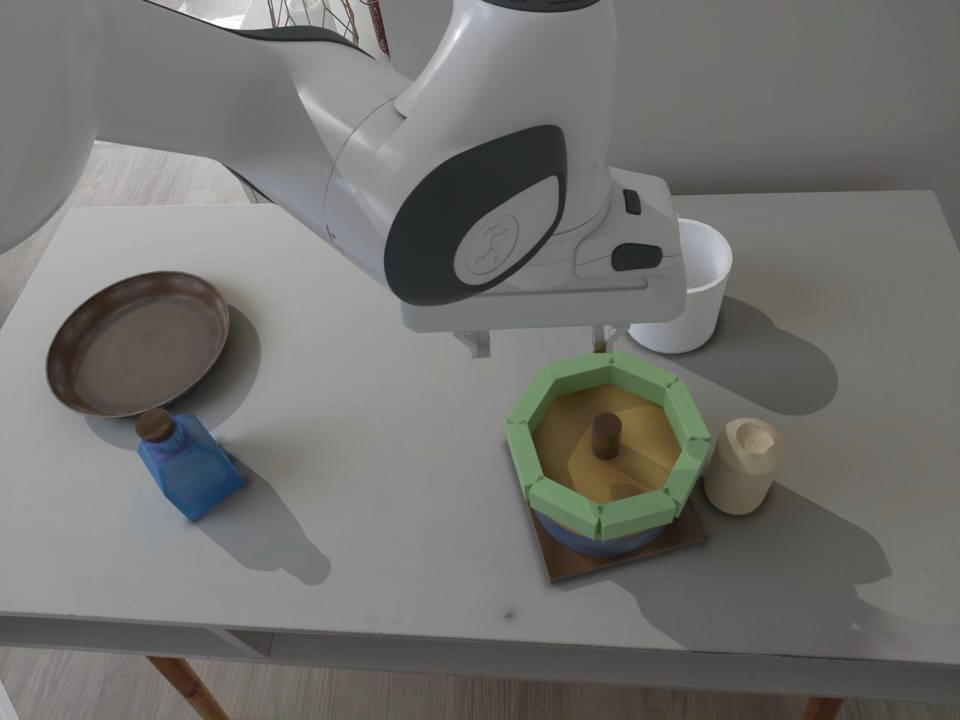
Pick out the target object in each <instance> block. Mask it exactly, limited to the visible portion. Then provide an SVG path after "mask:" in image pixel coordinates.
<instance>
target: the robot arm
mask: <svg viewBox="0 0 960 720" xmlns="http://www.w3.org/2000/svg"><path fill="white" fill-rule="evenodd" d="M615 11H616V10H615V7H614V3H613V0H453V1H452V14H451V17H450V20H449V23H448V25H447V28H446V31H445V33H444V35H443V37H442V38H441V41H440V43H439V45H438V47H437V49H436V50H435V52H434V53H433V55H432V57H431V58H430V60H429V62H428V63H427V64H426V66H425V68H424V69H423V71H422V72H421V73H420V74H419V76H418V77H417V78H416V80H415V81H414V80H412V79H410V78H409V77H407V76H405V75H403V74H401V73H399V72H398V71H396V70H394V69H392V68H391V67H388V66H387V65H386V64H384V63H382V62H380V61H379V60H377V59H376V58H375V57H374V56H372V55H371V54H369V53H368V52H366V51H365V50H364V49H363V48H361V47H360V46H358V45H356V44H355V43H354V42H353V41H351V40H349V38H346V37H345V36H344V35H342V34H340V33H339V32H336V31H334V30H331V29H329V28H325V27H322V26H317V25H308V24H307V25H306V24H305V25H303V24H302V25H301V24H300V25H287V26H286V25H285V26H277V27H269V28H259V29H258V28H257V29H256V28H255V29H239V28H237V29H236V28H229V27H224V26H220V25H218V24H215V23H213V22H209V21H206V20H203V19H201V18H198V17H195V16H192V15H190V14H187V13H184V12H181V11H179V10H176V9H173V8H171V7H168V6H166V5H162V4H159V3H156V2H154V1H152V0H0V257H1V256H2V255H4V254H6V253H7V252H9V251H11V250H13V249H15V248H16V247H18V246H20V245H21V244H22V243H23V242H25V241H26V240H28V239H29V238H31V237H32V236H34V234H36V233H37V232H38V231H39V230H40V229H41V228H43V227H44V226H46V224H47V223H48V222H50V220H51V219H52V218H53V217H54V216H55V215H56V214H57V213H58V212H59V211H60V210H61V209H62V208H63V206H64V205H65V203H66V202H67V200H68V199H69V198H70V197H71V196H72V194H73V192H74V191H75V190H76V187H77V186H78V184H79V182H80V181H81V178H82V176H83V174H84V172H85V169H86V167H87V165H88V162H89V160H90V157H91V154H92V151H93V148H94V145H95V142H103V143H110V144H115V145H123V146H129V147H135V148H140V149H141V148H142V149H148V150H155V151H161V152H167V153H173V154H181V155H187V156H193V157H201V158H206V159H209V160H213V161H216V162H218V163H219V164H221V165H222V166H223V167H225V169H227V170H228V171H229V173H231V174H232V175H233V176H234V177H235V178H237V179H238V180H239V181H240V182H241V183H243V184H244V185H245V186H247V187H248V188H249V189H251V190H252V191H254V192H256V193H257V194H259V195H260V196H261V197H262V198H264V199H266V200H267V201H269V202H270V203H272V204H273V205H276V206H278V207H279V208H281V209H282V210H283V211H285V212H286V213H287V214H288V215H290V216H291V217H292V218H294V219H295V220H296V221H297V222H299V223H300V224H301V225H303V226H304V227H306V229H308V230H309V231H311V232H312V233H313V234H315V235H316V236H317V237H319V238H320V239H321V240H322V241H324V242H325V244H327V245H329V246H330V247H331V248H333V250H335V251H336V252H338V253H339V254H340V255H341V256H342V257H343V258H344V259H346V260H347V261H349V263H351V264H352V265H354V266H355V267H356V268H357V269H358V270H360V271H362V272H363V273H364V274H365V275H367V276H368V277H369V278H370V279H372V280H373V281H375V282H376V283H377V284H379V285H380V286H382V287H384V289H385V290H387V291H388V292H390V293H392V294H393V295H394V296H395V297H397V299H398V307H399V308H398V309H399V314H400V320H401V323H402V325H403V326H404V327H405V328H407V329H408V330H410V331H411V332H414V333H416V334H429V333H430V334H431V333H452V334H453V337H454V338H456V339H457V340H458V341H459V342H461V343H462V344H463V345H465V346H466V347H467V348H469V349H470V354H471V356H470V357H471V359H474V360H475V359H487V358H491V355H492V354H491V347H492V346H491V337H490V334H491V333H490V331H498V330H499V331H500V330H521V329H523V330H524V329H543V328H544V329H547V328H566V327H567V328H569V327H589V326H590V327H591V345H592V353H611V354H613V352H614V351H613V349H614V342H616V341H617V340H618V339H619V338H620V337H622V336H623V335H624V334H626V332H628V330H629V329H630V325H631V324H640V323H666V322H671V321H672V320H674V319H675V318H677V317H678V316H680V315H681V314H682V313H683V312H684V309H685V303H686V295H687V279H686V272H685V266H684V261H683V255H682V250H681V246H680V231H679V223H678V218H677V213H678V212H677V209H676V206H675V202H674V199H673V196H672V193H671V190H670V188H669V186H668V184H667V182H666V180H665V179H664V178H661V177H659V176H655V175H651V174H647V173H640V172H637V171H636V172H635V171H632V170H627V169H622V168H618V167H614V166H611V165H610V164H609V161H608V158H607V156H608V151H609V150H610V147H611V145H612V143H613V140H614V137H615V134H616V128H617V118H618V105H619V88H620V87H619V86H620V47H619V32H618V23H617V17H616V12H615Z"/></svg>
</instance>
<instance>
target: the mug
mask: <svg viewBox="0 0 960 720" xmlns="http://www.w3.org/2000/svg"><path fill="white" fill-rule="evenodd" d="M676 213H677V218H678V223H679V231H680V246H681V250H682V255H683V261H684V266H685V272H686V279H687V295H686V303H685V309H684V312H683V313H682V314H681V315H680V316H678V317H677V318H675V319H674V320H672V321H671V322H666V323H640V324H631V325H630V329H629V330H628V331H627V332H628V334H629V335H630V337H631V338H632V339H633V340H634V341H636V342H637V344H639V345H640V346H642V347H644V348H646V349H649V350H651V351H653V352H657V353H661V354H667V355H669V354H673V355H678V354H683V353H688V352H691V351H694V350H696V349H698V348H700V347H702V346H703V345H704V344H705V343H707V342H708V341H709V340H710V338H711V336H712V335H713V333H714V332H715V329H716V326H717V322H718V318H719V314H720V310H721V306H722V302H723V300H724V299H723V298H724V294H725V291H726V287H727V285H728V279H729V275H730V271H731V267H732V265H733V252H732V248H731V246H730V244H729V242H728V239H726V238H725V236H723V235H722V234H721V233H720V231H718V230H716V229H715V228H713V227H712V226H711V225H708V224H706V223H703V222H700V221H698V220H695V219H694V220H693V219H688V218H680V215H679V213H678V212H676Z"/></svg>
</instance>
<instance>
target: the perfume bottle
mask: <svg viewBox="0 0 960 720" xmlns="http://www.w3.org/2000/svg"><path fill="white" fill-rule="evenodd" d="M134 430H135V433H136V435H137V436H138V437H139V438H140V439H139V444H138V447H137V452H136V453H137V454H138V456H139V457H140V459H141V461H142V462H143V463H144V465H145V467H146V469H147V470H148V472H149V473H150V475H151V477H152V478H153V479H154V481H155V483H156V484H157V486H158V488H159V490H160V491H161V492H162V494H163V496H164V497H165V498H166V499H167V500H168V501H169V502H170V503H171V504H172V505H173V506H174V507H175V508H176V509H177V510H178V511H179V512H180V513H181V514H182V515H183V516H185V518H186V519H188V521H190V522H191V523H194V521H196V520H198V519H199V518H200V517H201V516H203V515H205V514H206V513H207V512H209V511H210V510H212V509H213V508H214V507H216V506H217V505H218V504H220V503H221V502H223V501H224V500H226V499H227V498H229V497H230V496H232V494H235V492H237V491H238V490H240V489H241V488H242V487H244V486H245V485H247V484H246V482H245V480H244V479H243V477H242V476H241V474H240V473H239V472H238V470H237V469H236V467H235V466H234V464H233V463H232V462H231V460H230V459H229V458H228V456H227V455H226V454H225V452H224V451H223V448H221V446H220V445H219V443H218V442H217V440H215V438H214V437H213V436H212V435H211V433H210V432H209V431H208V429H207V428H206V427H205V426H204V424H203V422H201V420H200V419H199V418H198V417H197V416H196V414H194V413H191V414H190V413H189V414H178V415H176V416H174V415H172V414H170V413H169V411H167V410H166V409H164V408H163V407H162V408H155V409H150V410H148V411H146V412H145V413H144V414H142V415H139V417H138V419H137V420H136V422H135V427H134Z"/></svg>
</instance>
